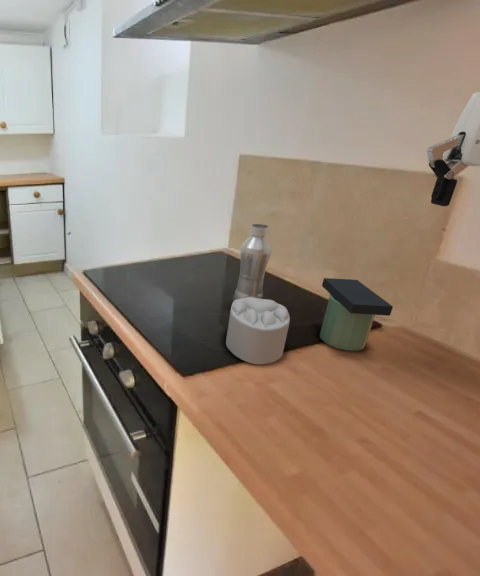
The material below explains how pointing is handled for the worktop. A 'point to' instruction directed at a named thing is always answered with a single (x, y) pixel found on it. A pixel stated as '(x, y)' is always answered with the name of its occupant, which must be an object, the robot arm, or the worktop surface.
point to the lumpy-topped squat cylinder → (257, 330)
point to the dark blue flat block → (356, 297)
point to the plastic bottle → (253, 263)
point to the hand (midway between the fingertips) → (474, 205)
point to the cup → (345, 327)
